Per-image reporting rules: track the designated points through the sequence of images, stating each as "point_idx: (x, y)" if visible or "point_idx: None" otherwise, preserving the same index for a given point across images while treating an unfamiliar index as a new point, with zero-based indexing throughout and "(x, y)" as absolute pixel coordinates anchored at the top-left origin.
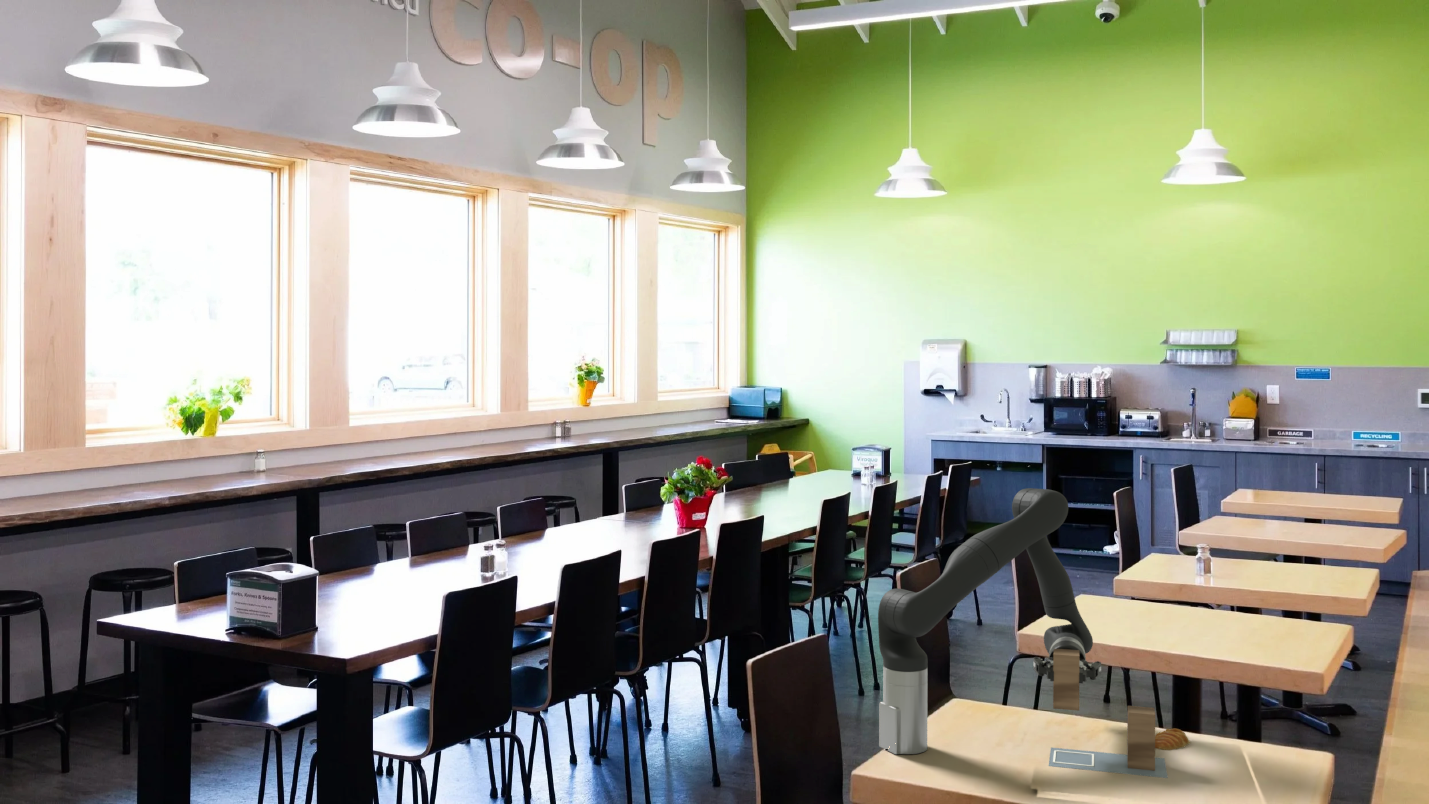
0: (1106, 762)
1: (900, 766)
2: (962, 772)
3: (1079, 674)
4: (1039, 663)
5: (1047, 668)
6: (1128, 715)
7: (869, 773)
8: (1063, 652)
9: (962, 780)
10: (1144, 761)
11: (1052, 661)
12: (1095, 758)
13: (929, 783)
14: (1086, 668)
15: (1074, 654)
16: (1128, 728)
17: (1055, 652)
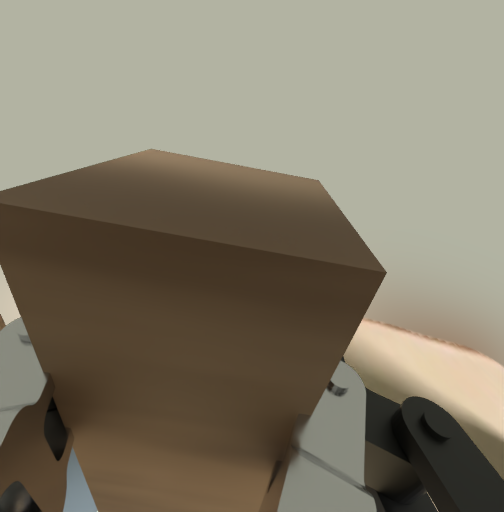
0: None
1: (498, 406)
2: (393, 389)
3: None
4: (454, 432)
5: (341, 360)
6: (2, 322)
7: (501, 367)
8: (249, 186)
9: (374, 354)
10: None
11: (347, 479)
12: (95, 505)
13: (406, 340)
14: (16, 324)
15: (170, 160)
16: None
17: (315, 193)
